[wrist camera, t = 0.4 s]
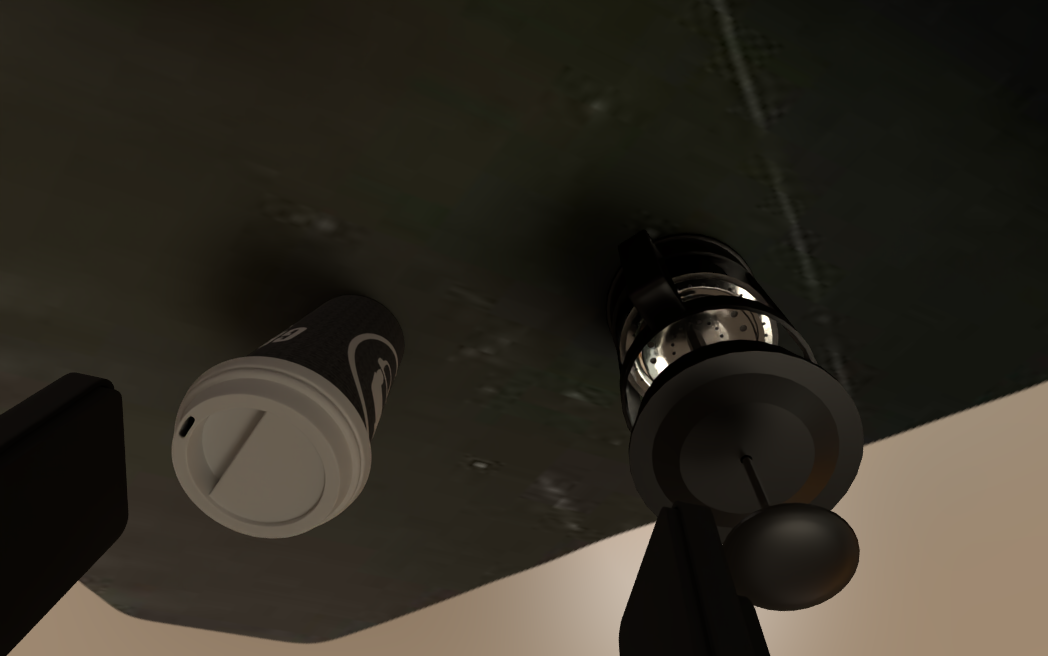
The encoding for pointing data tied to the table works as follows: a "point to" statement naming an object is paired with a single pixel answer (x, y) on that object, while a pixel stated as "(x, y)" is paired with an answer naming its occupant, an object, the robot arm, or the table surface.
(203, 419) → the coffee cup
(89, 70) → the table surface
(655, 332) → the french press
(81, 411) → the robot arm
